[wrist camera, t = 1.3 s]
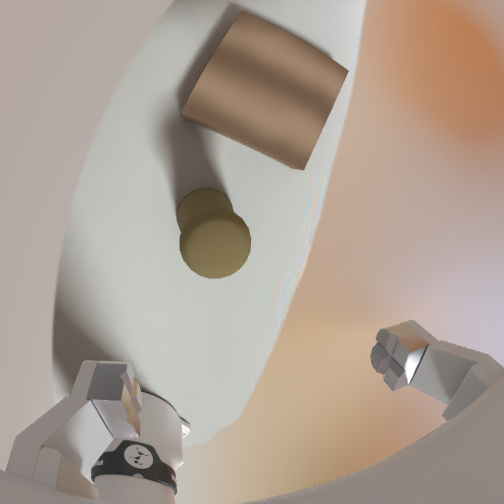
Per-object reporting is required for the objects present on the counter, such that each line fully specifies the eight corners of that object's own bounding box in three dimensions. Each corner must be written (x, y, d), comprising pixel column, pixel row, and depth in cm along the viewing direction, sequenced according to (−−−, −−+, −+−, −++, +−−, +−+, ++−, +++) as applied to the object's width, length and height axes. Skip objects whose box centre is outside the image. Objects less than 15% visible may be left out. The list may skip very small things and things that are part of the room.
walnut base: (292, 168, 29) (303, 170, 26) (181, 118, 24) (180, 113, 22) (335, 76, 26) (348, 70, 23) (236, 23, 22) (242, 11, 19)
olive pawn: (173, 192, 27) (165, 213, 17) (231, 184, 28) (258, 200, 18) (181, 248, 29) (181, 297, 19) (236, 240, 30) (264, 283, 20)
